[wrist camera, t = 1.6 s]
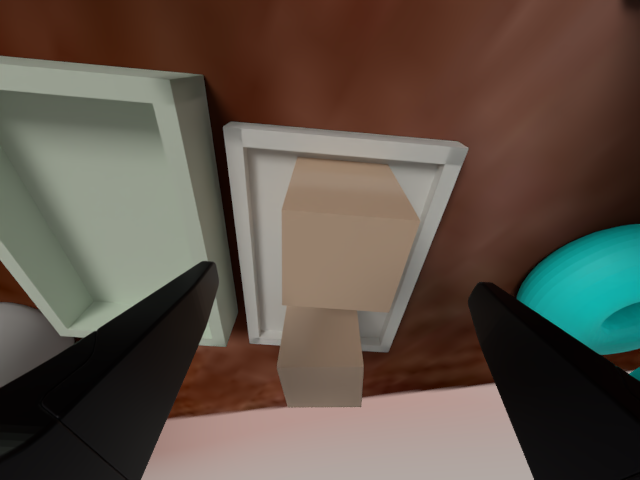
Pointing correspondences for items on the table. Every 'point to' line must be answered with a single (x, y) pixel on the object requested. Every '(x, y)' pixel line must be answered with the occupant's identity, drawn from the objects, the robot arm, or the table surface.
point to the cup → (26, 340)
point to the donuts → (592, 290)
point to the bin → (108, 190)
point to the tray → (270, 191)
